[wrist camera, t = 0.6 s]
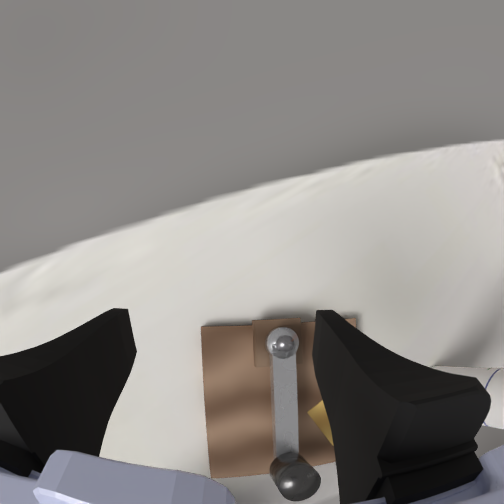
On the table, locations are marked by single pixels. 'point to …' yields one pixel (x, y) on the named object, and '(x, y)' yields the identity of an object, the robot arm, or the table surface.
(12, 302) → the table surface
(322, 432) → the cracker board
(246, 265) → the table surface
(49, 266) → the table surface
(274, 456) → the lever
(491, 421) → the cylindrical container
